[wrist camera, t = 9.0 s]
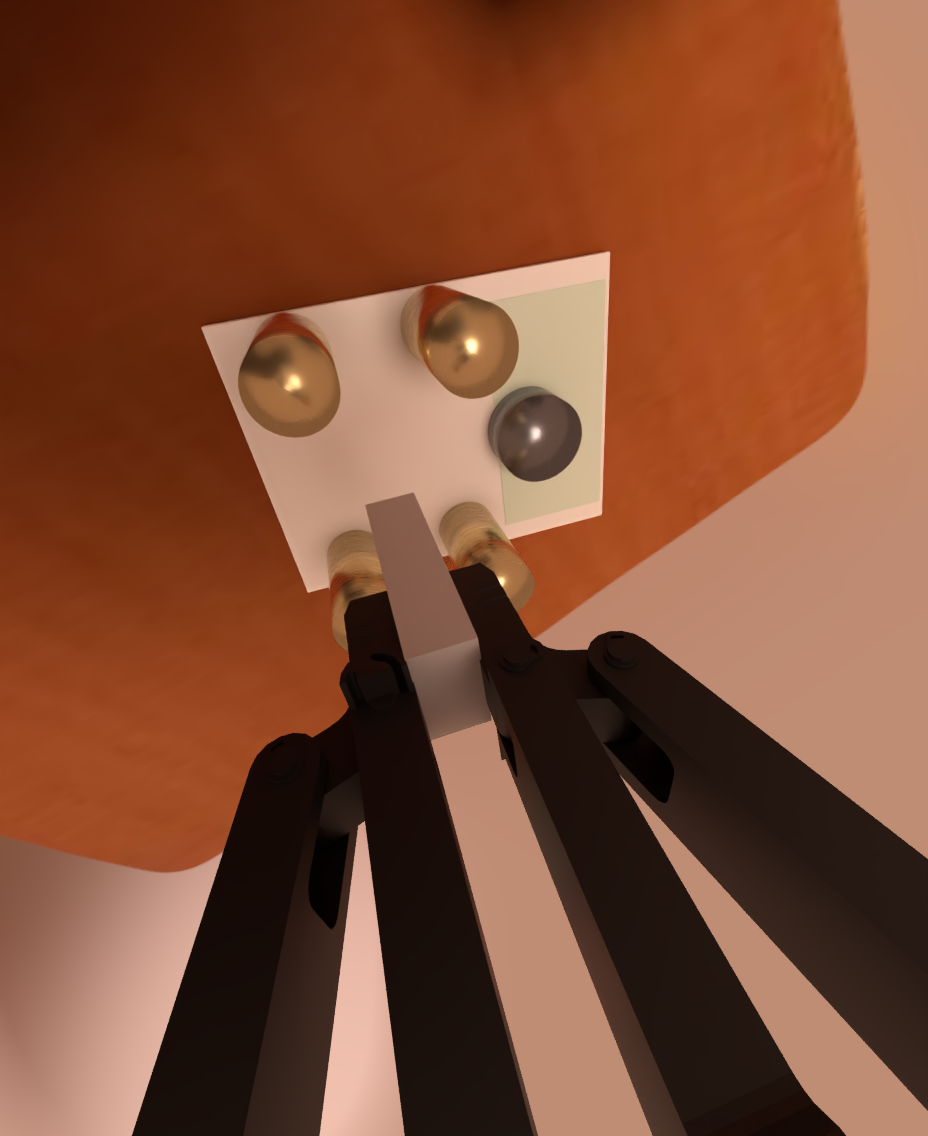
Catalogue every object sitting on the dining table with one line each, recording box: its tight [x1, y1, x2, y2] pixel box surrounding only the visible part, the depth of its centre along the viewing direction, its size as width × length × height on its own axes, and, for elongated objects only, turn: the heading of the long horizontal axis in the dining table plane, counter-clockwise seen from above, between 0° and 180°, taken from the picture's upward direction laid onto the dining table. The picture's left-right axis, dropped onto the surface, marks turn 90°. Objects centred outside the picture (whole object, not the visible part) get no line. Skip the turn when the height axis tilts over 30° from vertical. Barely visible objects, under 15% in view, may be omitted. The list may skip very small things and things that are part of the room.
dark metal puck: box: [488, 386, 582, 482], centre depth 24 cm, size 4×4×2 cm
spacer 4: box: [439, 502, 534, 612], centre depth 25 cm, size 3×3×6 cm
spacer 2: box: [327, 530, 387, 651], centre depth 24 cm, size 3×3×6 cm
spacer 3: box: [400, 285, 519, 399], centre depth 19 cm, size 3×3×6 cm
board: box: [201, 251, 610, 593], centre depth 24 cm, size 13×17×1 cm
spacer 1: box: [238, 312, 341, 438], centre depth 18 cm, size 3×3×6 cm
